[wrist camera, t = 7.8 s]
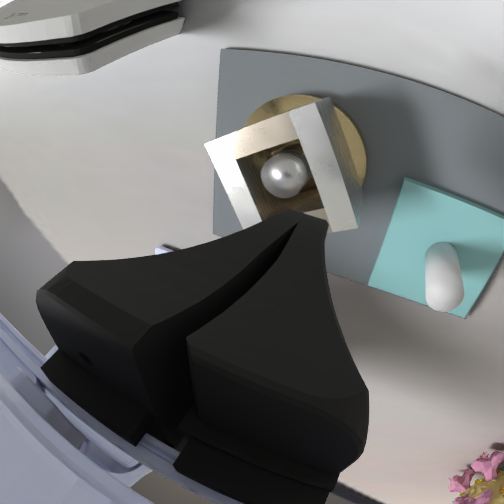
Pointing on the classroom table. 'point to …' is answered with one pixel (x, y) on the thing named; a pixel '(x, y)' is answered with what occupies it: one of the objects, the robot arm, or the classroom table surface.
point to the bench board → (371, 142)
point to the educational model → (481, 482)
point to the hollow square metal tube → (319, 159)
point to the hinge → (80, 33)
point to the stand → (438, 249)
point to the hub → (292, 155)
